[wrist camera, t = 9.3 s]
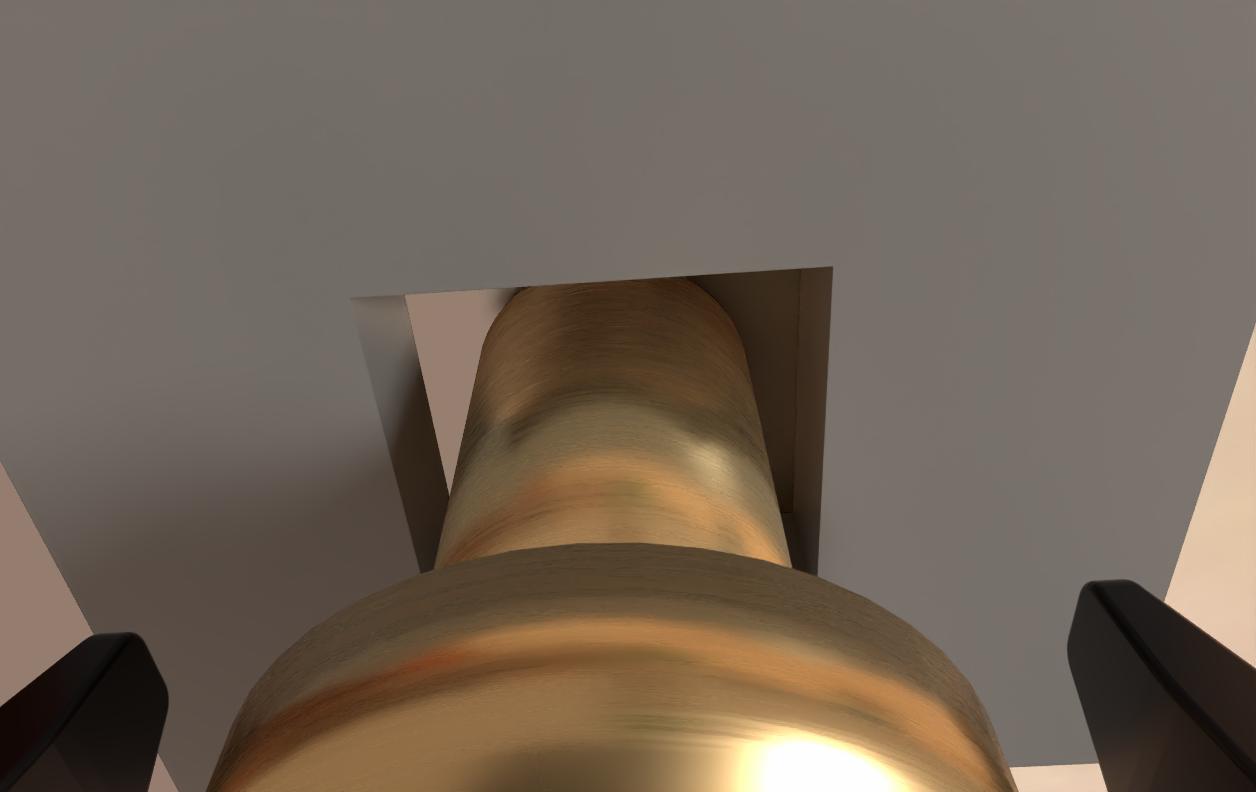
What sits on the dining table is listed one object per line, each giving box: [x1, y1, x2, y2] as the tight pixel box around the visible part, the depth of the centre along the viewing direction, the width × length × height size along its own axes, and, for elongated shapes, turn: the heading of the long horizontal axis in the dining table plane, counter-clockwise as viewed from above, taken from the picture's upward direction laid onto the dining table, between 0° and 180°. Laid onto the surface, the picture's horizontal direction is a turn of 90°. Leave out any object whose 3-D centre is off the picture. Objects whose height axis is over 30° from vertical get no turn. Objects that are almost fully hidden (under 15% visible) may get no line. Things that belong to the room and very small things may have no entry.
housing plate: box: [0, 0, 1256, 792], centre depth 12 cm, size 12×14×2 cm
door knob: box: [206, 276, 1018, 792], centre depth 10 cm, size 6×6×8 cm
